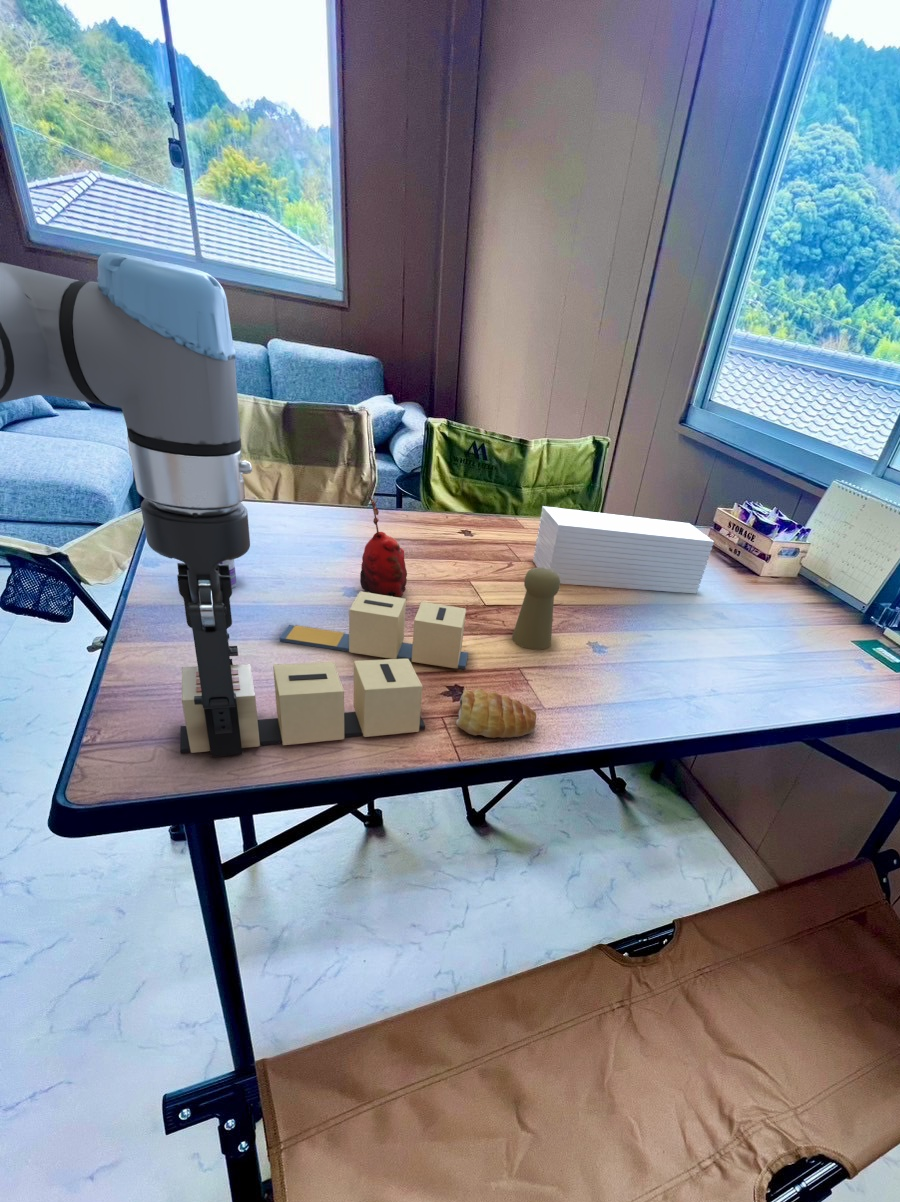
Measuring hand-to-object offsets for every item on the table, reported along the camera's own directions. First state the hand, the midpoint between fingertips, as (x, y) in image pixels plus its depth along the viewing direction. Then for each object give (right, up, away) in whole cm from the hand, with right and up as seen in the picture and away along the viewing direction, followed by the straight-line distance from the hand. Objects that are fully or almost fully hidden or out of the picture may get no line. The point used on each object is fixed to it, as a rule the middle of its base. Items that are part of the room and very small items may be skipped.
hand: (225, 733), depth 63 cm
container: (-15, +22, +27) cm, 38 cm away
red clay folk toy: (+6, +23, +36) cm, 43 cm away
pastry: (+26, +1, +11) cm, 28 cm away
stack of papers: (+46, +32, +62) cm, 83 cm away
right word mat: (+9, +12, +21) cm, 25 cm away
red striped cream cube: (0, 0, 0) cm, 0 cm away
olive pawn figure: (+30, +14, +32) cm, 46 cm away
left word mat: (+7, 0, +4) cm, 8 cm away
